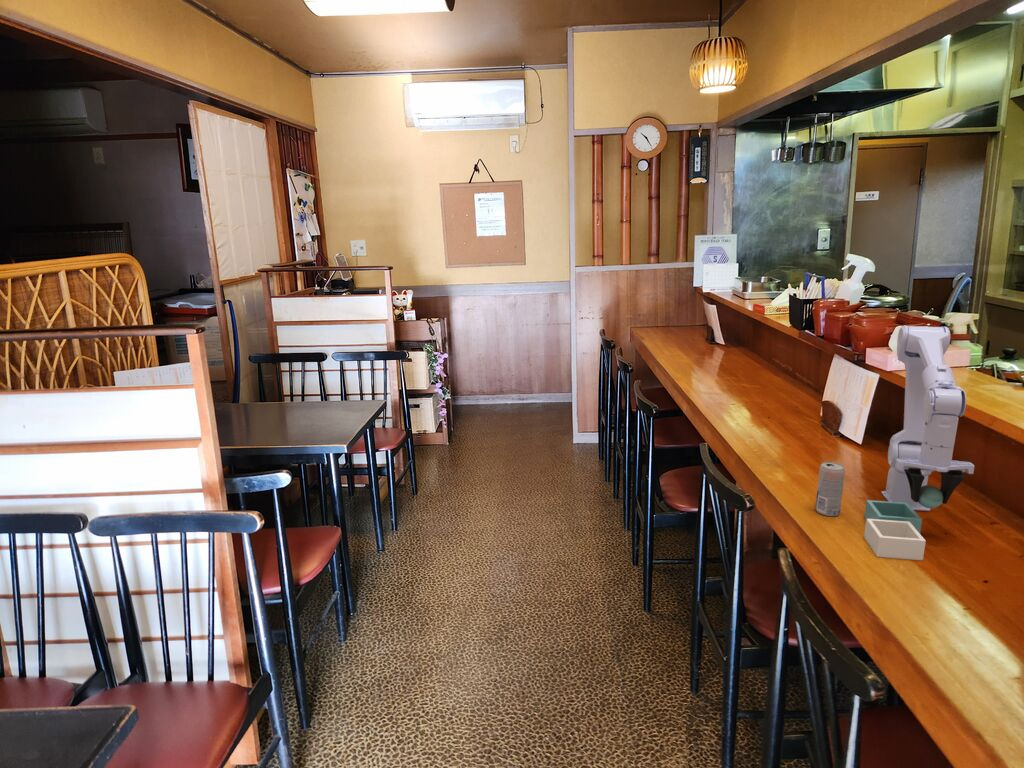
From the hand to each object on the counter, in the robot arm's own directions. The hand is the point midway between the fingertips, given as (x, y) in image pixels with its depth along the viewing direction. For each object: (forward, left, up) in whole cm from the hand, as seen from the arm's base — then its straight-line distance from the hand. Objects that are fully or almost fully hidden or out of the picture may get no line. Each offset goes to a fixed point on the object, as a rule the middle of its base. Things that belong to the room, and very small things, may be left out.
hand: (928, 501), depth 137 cm
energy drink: (-9, -18, -9) cm, 21 cm away
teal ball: (0, 0, +1) cm, 1 cm away
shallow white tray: (+7, -9, -8) cm, 14 cm away
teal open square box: (-3, -6, -8) cm, 10 cm away
